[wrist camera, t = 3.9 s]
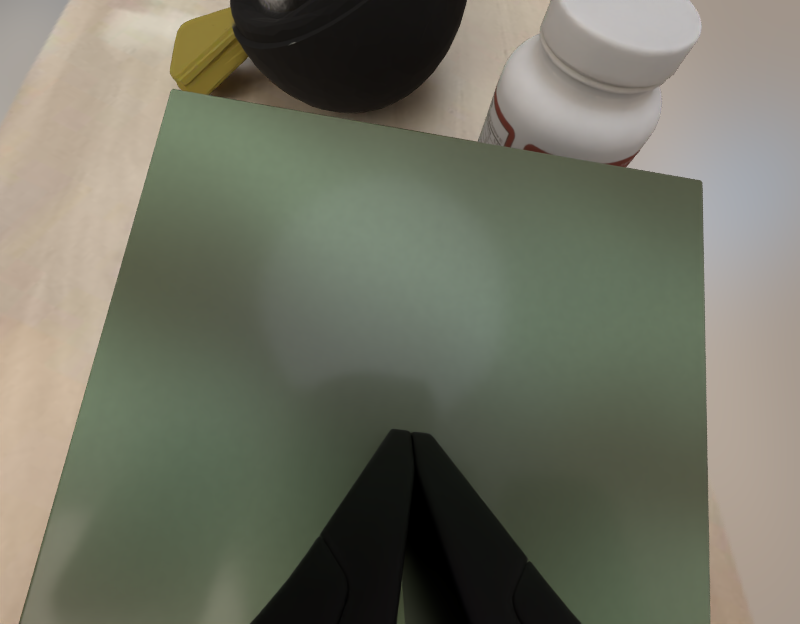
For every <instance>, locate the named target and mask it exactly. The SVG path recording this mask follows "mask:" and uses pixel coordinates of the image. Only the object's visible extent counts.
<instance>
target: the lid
mask: <svg viewBox="0 0 800 624" xmlns="http://www.w3.org/2000/svg"><path fill="white" fill-rule="evenodd" d="M702 193H703V188H702V182H701V181H700V180H695V179H689V178H683V177H678V176H672V175H665V174H660V173H655V172H649V171H643V170H637V169H631V168H626V167H620V166H614V165H609V164H603V163H597V162H591V161H586V160H580V159H574V158H568V157H562V156H557V155H551V154H545V153H539V152H534V151H528V150H522V149H516V148H511V147H505V146H499V145H493V144H487V143H482V142H476V141H470V140H464V139H459V138H453V137H447V136H441V135H436V134H430V133H424V132H418V131H413V130H407V129H401V128H395V127H389V126H384V125H378V124H372V123H366V122H361V121H355V120H349V119H343V118H338V117H332V116H326V115H320V114H314V113H309V112H303V111H297V110H291V109H286V108H280V107H274V106H268V105H263V104H257V103H251V102H245V101H239V100H234V99H228V98H222V97H216V96H211V95H205V94H199V93H193V92H188V91H182V90H176V89H173V90H171V92H170V96H169V99H168V103H167V106H166V110H165V113H164V117H163V120H162V124H161V127H160V131H159V134H158V138H157V141H156V145H155V148H154V152H153V155H152V159H151V162H150V166H149V169H148V173H147V176H146V180H145V183H144V187H143V190H142V194H141V197H140V201H139V204H138V208H137V211H136V215H135V218H134V222H133V226H132V229H131V233H130V236H129V240H128V243H127V247H126V250H125V254H124V257H123V261H122V264H121V268H120V271H119V275H118V278H117V282H116V285H115V289H114V292H113V296H112V299H111V303H110V306H109V310H108V313H107V317H106V320H105V324H104V327H103V331H102V334H101V338H100V341H99V345H98V348H97V352H96V355H95V359H94V362H93V366H92V369H91V373H90V376H89V380H88V383H87V387H86V390H85V394H84V397H83V401H82V404H81V408H80V411H79V415H78V418H77V422H76V425H75V429H74V432H73V436H72V439H71V443H70V446H69V450H68V453H67V457H66V460H65V464H64V467H63V471H62V474H61V478H60V481H59V485H58V488H57V492H56V495H55V499H54V502H53V506H52V509H51V513H50V516H49V520H48V523H47V527H46V530H45V534H44V537H43V541H42V544H41V548H40V551H39V555H38V558H37V562H36V565H35V569H34V572H33V576H32V579H31V583H30V586H29V590H28V593H27V597H26V600H25V604H24V607H23V611H22V614H21V618H20V621H19V624H250V623H251V622H252V621H253V619H254V618H255V617H256V616H257V615H258V614H259V613H260V611H261V610H262V609H263V608H264V607H265V606H266V604H267V603H268V602H269V601H270V600H271V598H272V597H273V596H274V595H275V594H276V592H277V591H278V590H279V589H280V588H281V586H282V585H283V584H284V583H285V582H286V581H287V579H288V578H289V577H290V575H291V574H292V572H293V571H294V570H295V568H296V567H297V566H298V564H299V563H300V562H301V560H302V559H303V557H304V556H305V555H306V553H307V552H308V550H309V549H310V547H311V546H312V544H313V543H314V541H315V540H316V539H317V538H318V537H319V535H320V533H321V532H322V530H323V529H324V527H325V526H326V524H327V523H328V521H329V520H330V518H331V517H332V515H333V514H334V512H335V511H336V509H337V508H338V506H339V505H340V504H341V502H342V501H343V499H344V498H345V496H346V495H347V493H348V492H349V490H350V489H351V487H352V486H353V484H354V483H355V481H356V480H357V478H358V477H359V475H360V474H361V473H362V471H363V470H364V468H365V467H366V465H367V464H368V462H369V461H370V459H371V458H372V456H373V455H374V453H375V452H376V450H377V449H378V447H379V446H380V444H381V443H382V442H383V440H384V439H385V437H386V436H387V434H388V433H389V431H390V430H391V429H400V430H408V431H409V432H410V433H412V432H414V431H415V432H423V433H430V434H431V435H432V436H433V437H434V438H435V439H436V441H437V442H438V443H439V445H440V446H441V447H442V448H443V450H444V451H445V452H446V453H447V455H448V456H449V457H450V459H451V460H452V461H453V462H454V464H455V465H456V466H457V468H458V469H459V470H460V471H461V473H462V474H463V475H464V477H465V478H466V479H467V480H468V482H469V483H470V484H471V486H472V487H473V488H474V489H475V491H476V492H477V493H478V495H479V496H480V497H481V498H482V500H483V501H484V502H485V504H486V505H487V506H488V507H489V509H490V510H491V511H492V512H493V514H494V515H495V516H496V518H497V519H498V520H499V521H500V523H501V524H502V525H503V527H504V528H505V529H506V530H507V532H508V533H509V534H510V536H511V537H512V538H513V539H514V541H515V542H516V543H517V545H518V546H519V547H520V548H521V550H522V551H523V552H524V554H525V555H526V556H527V558H528V561H530V562H532V564H533V565H534V566H535V567H536V569H537V570H538V571H539V572H540V574H541V575H542V576H543V578H544V579H545V580H546V581H547V583H548V584H549V585H550V586H551V588H552V589H553V590H554V591H555V592H556V594H557V595H558V596H559V597H560V599H561V600H562V601H563V602H564V603H565V605H566V606H567V607H568V608H569V610H570V611H571V612H572V613H573V614H574V615H575V616H576V617H577V619H578V620H579V621H580V622H581V623H582V624H710V575H709V520H708V464H707V412H706V356H705V305H704V304H705V300H704V299H705V298H704V246H703V194H702ZM528 561H527V562H528ZM397 624H405V617H404V602H403V587H402V584H401V592H400V600H399V608H398V616H397Z"/></svg>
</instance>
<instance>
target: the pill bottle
mask: <svg viewBox="0 0 800 624" xmlns="http://www.w3.org/2000/svg"><path fill="white" fill-rule="evenodd" d="M701 29H702V24H701V19H700V16H699V13H698V12H697V10H696V8H695V7H694V6H693V4H692V3H691V2H690V1H689V0H551V1H550V3H549V6H548V9H547V11H546V14H545V16H544V19H543V22H542V24H541V27H540V34H537V35H535V36H533V37H531V38H529V39H528V40H526V41H525V42H523V43H522V44H521V45H520V46H518V48H517V49H516V50H515V51H514V52H513V53H512V54H511V56H510V57H509V58H508V60H507V62H506V64H505V65H504V68H503V70H502V73H501V75H500V78H499V81H498V84H497V86H496V89H495V92H494V96H493V99H492V101H491V104H490V107H489V110H488V113H487V116H486V119H485V122H484V125H483V128H482V131H481V134H480V137H479V139H478V142H482V143H487V144H493V145H499V146H505V147H511V148H516V149H522V150H528V151H534V152H539V153H545V154H551V155H557V156H562V157H568V158H574V159H580V160H586V161H591V162H597V163H603V164H609V165H614V166H620V167H627V165H628V164H629V163H630V162H631V161H632V160H633V158H634V157H635V156H636V155H637V153H638V152H639V151H640V149H641V148H642V147H643V145H644V144H645V142H646V141H647V140H648V139H649V137H650V136H651V134H652V133H653V131H654V130H655V128H656V125H657V123H658V121H659V117H660V113H661V107H662V98H661V90H660V85H662V84H663V83H664V82H665V81H666V80H667V79H668V78H670V77H671V76H672V75H673V74H674V73H675V72H676V70H677V69H678V67H679V66H680V64H681V63H682V61H683V60H684V59H685V57H686V55H687V54H688V53H689V52H690V50H691V49H692V47H693V46H694V45H695V43H696V42H697V40H698V38H699V36H700V33H701Z"/></svg>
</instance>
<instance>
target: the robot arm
mask: <svg viewBox="0 0 800 624" xmlns="http://www.w3.org/2000/svg"><path fill="white" fill-rule="evenodd" d="M527 561H528V558H527V556H526V555H525V554H524V552H523V551H522V550H521V548H520V547H519V546H518V545H517V543H516V542H515V541H514V539H513V538H512V537H511V536H510V534H509V533H508V532H507V530H506V529H505V528H504V527H503V525H502V524H501V523H500V521H499V520H498V519H497V518H496V516H495V515H494V514H493V512H492V511H491V510H490V509H489V507H488V506H487V505H486V504H485V502H484V501H483V500H482V498H481V497H480V496H479V495H478V493H477V492H476V491H475V489H474V488H473V487H472V486H471V484H470V483H469V482H468V480H467V479H466V478H465V477H464V475H463V474H462V473H461V471H460V470H459V469H458V468H457V466H456V465H455V464H454V462H453V461H452V460H451V459H450V457H449V456H448V455H447V453H446V452H445V451H444V450H443V448H442V447H441V446H440V445H439V443H438V442H437V441H436V439H435V438H434V437H433V436H432V435H431V434H430V433H423V432H415V431H414V432H412V433H410V432H409V431H408V430H400V429H391V430H390V431H389V433H388V434H387V436H386V437H385V439H384V440H383V442H382V443H381V444H380V446H379V447H378V449H377V450H376V452H375V453H374V455H373V456H372V458H371V459H370V461H369V462H368V464H367V465H366V467H365V468H364V470H363V471H362V473H361V474H360V475H359V477H358V478H357V480H356V481H355V483H354V484H353V486H352V487H351V489H350V490H349V492H348V493H347V495H346V496H345V498H344V499H343V501H342V502H341V504H340V505H339V506H338V508H337V509H336V511H335V512H334V514H333V515H332V517H331V518H330V520H329V521H328V523H327V524H326V526H325V527H324V529H323V530H322V532H321V533H320V535H319V537H318V538H317V539H316V540H315V541H314V543H313V544H312V546H311V547H310V549H309V550H308V552H307V553H306V555H305V556H304V557H303V559H302V560H301V562H300V563H299V564H298V566H297V567H296V568H295V570H294V571H293V572H292V574H291V575H290V577H289V578H288V579H287V581H286V582H285V583H284V584H283V585H282V586H281V588H280V589H279V590H278V591H277V592H276V594H275V595H274V596H273V597H272V598H271V600H270V601H269V602H268V603H267V604H266V606H265V607H264V608H263V609H262V610H261V611H260V613H259V614H258V615H257V616H256V617H255V618H254V619H253V621H252V622H251V623H250V624H397V616H398V608H399V600H400V592H401V584H402V587H403V602H404V617H405V624H582V623H581V622H580V621H579V620H578V619H577V617H576V616H575V615H574V614H573V613H572V612H571V611H570V610H569V608H568V607H567V606H566V605H565V603H564V602H563V601H562V600H561V599H560V597H559V596H558V595H557V594H556V592H555V591H554V590H553V589H552V588H551V586H550V585H549V584H548V583H547V581H546V580H545V579H544V578H543V576H542V575H541V574H540V572H539V571H538V570H537V569H536V567H535V566H534V565H533V564H532V562H530V561H528V562H527Z"/></svg>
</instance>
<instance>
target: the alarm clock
mask: <svg viewBox="0 0 800 624" xmlns="http://www.w3.org/2000/svg"><path fill="white" fill-rule="evenodd" d="M466 2H467V0H230V8H226V9H223V10H220V11H217V12H214V13H211V14H208V15H204V16H201V17H198V18H195V19H192V20H189V21H187V22H185V23H184V24H182V25H181V27H180V28H179V30H178V32H177V35H176V39H175V44H174V49H173V54H172V61H171V66H170V74H171V76H172V77H173V79H174V80H175V81H176V82H177V85H178V87H179V88H180V89H181V90H183V91H188V92H193V93H199V94H205V95H209V94H210V93H211V92H212V91H213V90H214V89H215V88H216V87H218V86H219V85H220V84H221V83H222V82H223V81H224V80H225V79H226V78H227V77H228V76H229V75H230V74H231V73H232V72H233V71H234V70H235V69H236V68H237V67H238V66H239V65H241V64H242V63H243V62H244V61H245V60H246V59H247V58H248V57H249V58H250V59H251V60H252V61H253V63H254V64H255V65H256V66H257V67H258V68H259V70H260V71H261V72H262V73H263V74H264V75H266V76H267V77H268V78H269V79H270V80H271V81H272V82H273V83H274V84H276V85H277V86H278V87H279V88H280V89H282V90H283V91H285V92H286V93H288V94H289V95H291V96H293V97H295V98H297V99H299V100H301V101H303V102H305V103H307V104H309V105H311V106H313V107H316V108H320V109H323V110H329V111H335V112H343V113H357V112H365V111H370V110H375V109H380V108H383V107H385V106H388V105H390V104H393V103H394V102H396V101H398V100H400V99H402V98H404V97H406V96H408V95H409V94H410V93H412V92H413V91H414V90H416V89H417V88H418V87H419V86H420V85H422V84H423V82H424V81H425V80H426V79H427V78H428V77H429V76H430V75H431V74H432V73H433V72H434V71H435V69H436V68H437V66H438V65H439V64H440V62H441V61H442V60H443V58H444V57H445V55H446V54H447V52H448V50H449V48H450V46H451V44H452V42H453V40H454V37H455V35H456V33H457V31H458V29H459V27H460V24H461V20H462V17H463V13H464V10H465V6H466Z"/></svg>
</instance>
